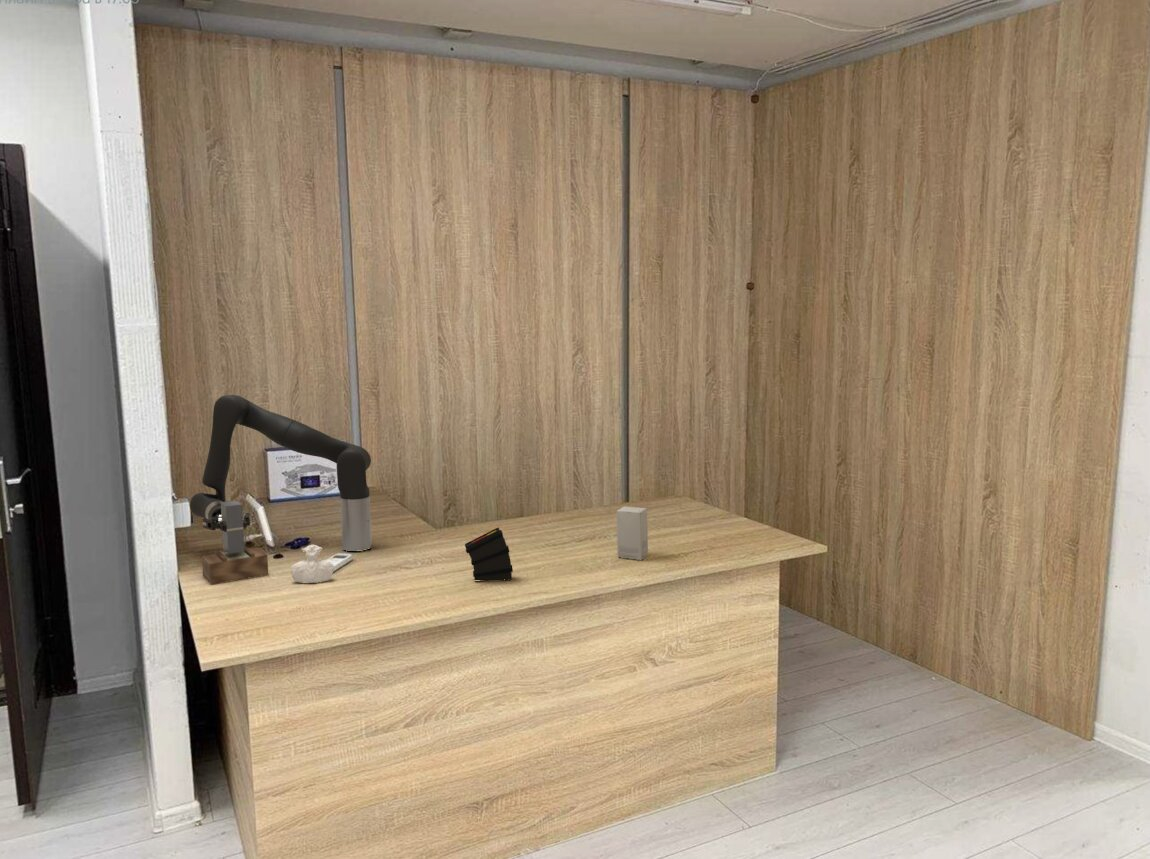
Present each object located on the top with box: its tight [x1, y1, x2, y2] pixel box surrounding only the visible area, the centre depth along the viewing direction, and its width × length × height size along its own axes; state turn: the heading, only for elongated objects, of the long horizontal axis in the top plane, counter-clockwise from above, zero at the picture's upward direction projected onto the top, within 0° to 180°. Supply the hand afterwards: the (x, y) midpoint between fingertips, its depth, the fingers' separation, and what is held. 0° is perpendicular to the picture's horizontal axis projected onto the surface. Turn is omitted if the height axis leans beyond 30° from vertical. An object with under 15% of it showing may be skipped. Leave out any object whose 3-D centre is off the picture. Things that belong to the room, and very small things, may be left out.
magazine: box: [464, 527, 514, 581], centre depth 253 cm, size 4×13×15 cm, turn 98°
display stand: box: [201, 545, 269, 585], centre depth 258 cm, size 16×10×7 cm, turn 125°
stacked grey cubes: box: [221, 500, 245, 554], centre depth 256 cm, size 6×5×14 cm
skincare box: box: [616, 505, 649, 561], centre depth 275 cm, size 8×7×16 cm
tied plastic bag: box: [290, 544, 335, 584], centre depth 253 cm, size 12×8×11 cm
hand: (234, 527), depth 254 cm, fingers closed on stacked grey cubes, 4 cm apart
